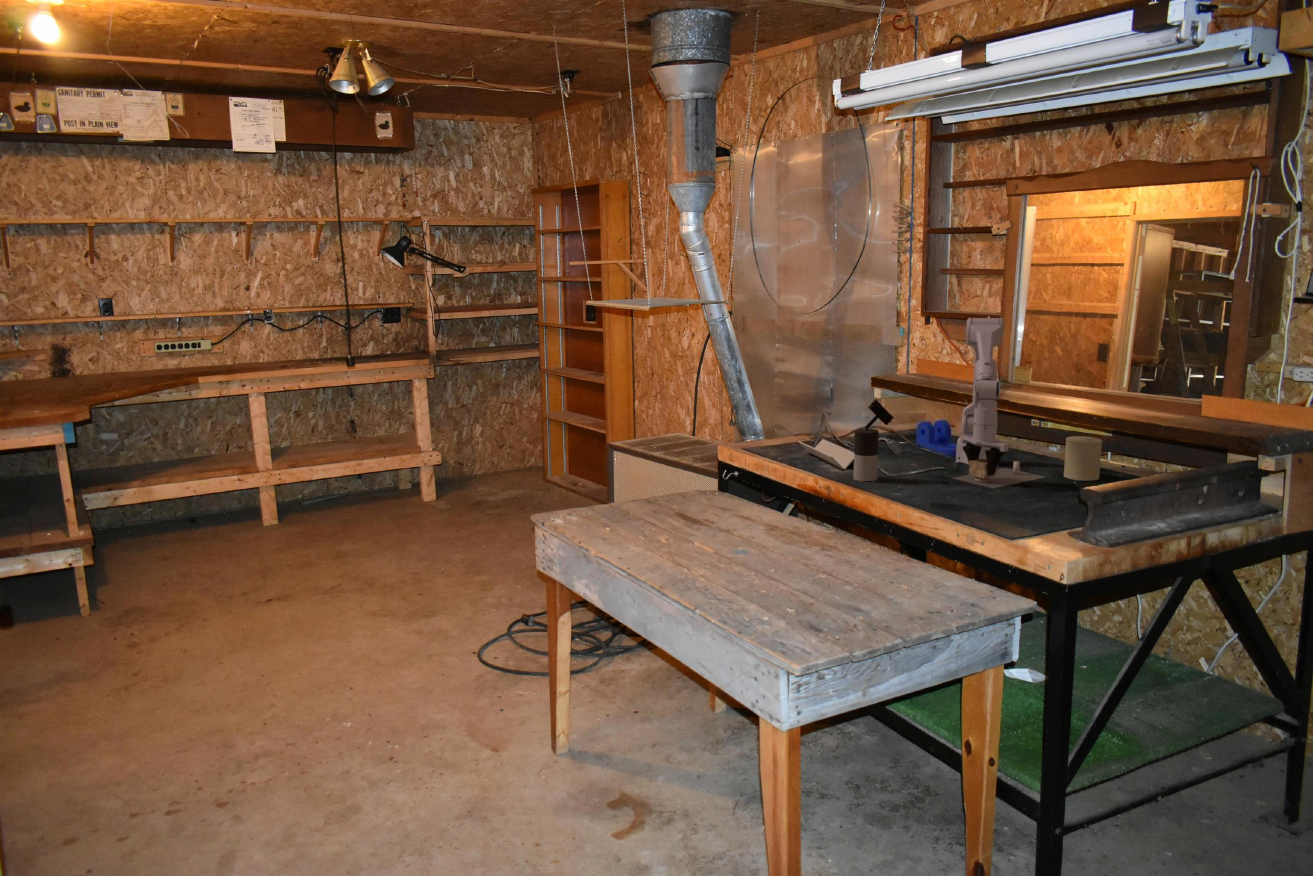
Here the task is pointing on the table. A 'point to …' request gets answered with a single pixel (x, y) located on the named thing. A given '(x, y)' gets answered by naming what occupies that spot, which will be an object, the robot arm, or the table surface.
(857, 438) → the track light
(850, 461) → the beige v-shaped trough
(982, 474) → the ash collar
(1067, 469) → the can
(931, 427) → the bracket
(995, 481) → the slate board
